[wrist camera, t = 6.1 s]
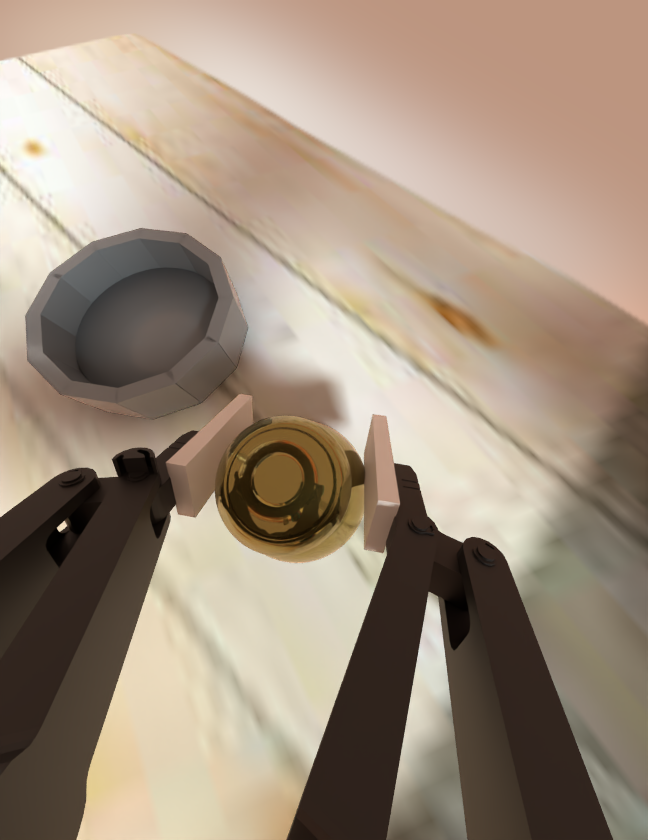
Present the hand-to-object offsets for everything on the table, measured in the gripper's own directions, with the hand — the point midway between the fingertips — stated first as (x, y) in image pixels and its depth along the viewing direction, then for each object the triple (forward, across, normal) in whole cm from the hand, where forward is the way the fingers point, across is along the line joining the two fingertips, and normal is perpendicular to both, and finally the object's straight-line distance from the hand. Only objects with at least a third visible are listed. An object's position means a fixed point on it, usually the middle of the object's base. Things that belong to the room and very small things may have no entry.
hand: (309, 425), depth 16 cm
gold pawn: (0, 0, -5) cm, 5 cm away
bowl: (+7, -14, +2) cm, 16 cm away
